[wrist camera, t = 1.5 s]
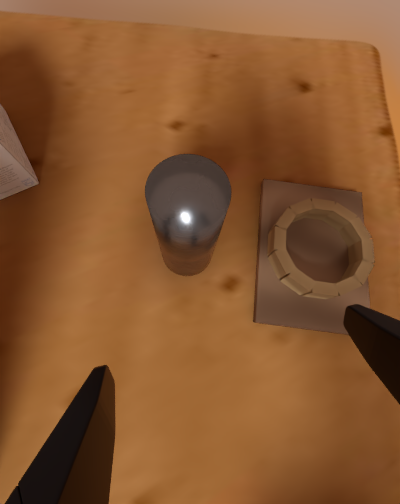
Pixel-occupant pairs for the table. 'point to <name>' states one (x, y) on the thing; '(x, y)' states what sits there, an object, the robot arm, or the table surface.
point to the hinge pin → (187, 210)
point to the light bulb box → (13, 161)
